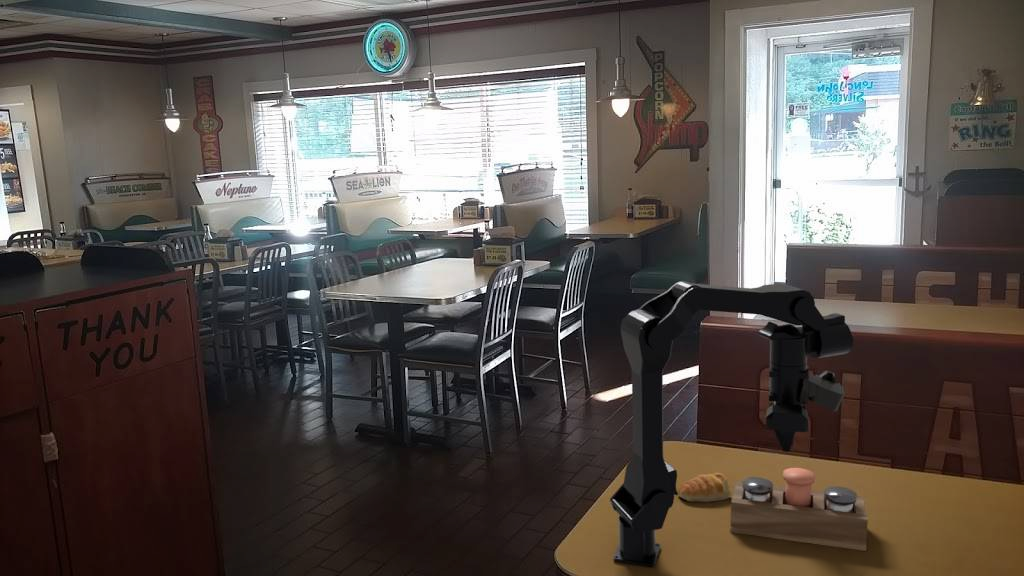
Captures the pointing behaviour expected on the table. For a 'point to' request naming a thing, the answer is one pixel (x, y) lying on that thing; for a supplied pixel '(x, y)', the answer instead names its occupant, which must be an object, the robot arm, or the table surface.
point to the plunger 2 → (840, 499)
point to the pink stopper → (798, 486)
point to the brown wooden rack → (799, 520)
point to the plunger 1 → (757, 489)
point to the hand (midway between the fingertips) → (786, 451)
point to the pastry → (705, 488)
